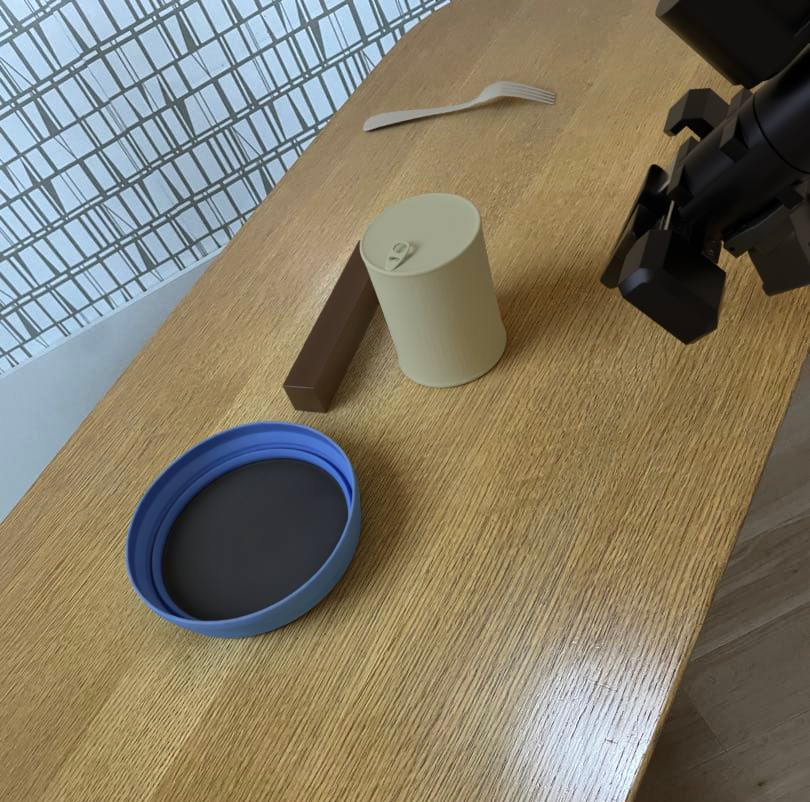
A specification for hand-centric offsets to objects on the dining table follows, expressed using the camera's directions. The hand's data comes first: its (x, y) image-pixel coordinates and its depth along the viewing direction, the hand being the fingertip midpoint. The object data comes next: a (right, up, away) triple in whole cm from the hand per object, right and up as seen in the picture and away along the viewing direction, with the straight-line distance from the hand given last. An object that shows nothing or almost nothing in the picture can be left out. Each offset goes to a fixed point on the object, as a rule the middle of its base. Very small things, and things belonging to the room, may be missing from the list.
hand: (605, 282), depth 60 cm
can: (-10, -3, +10) cm, 15 cm away
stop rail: (-19, 0, +14) cm, 24 cm away
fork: (-9, +27, +30) cm, 41 cm away
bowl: (-26, -19, +4) cm, 32 cm away
